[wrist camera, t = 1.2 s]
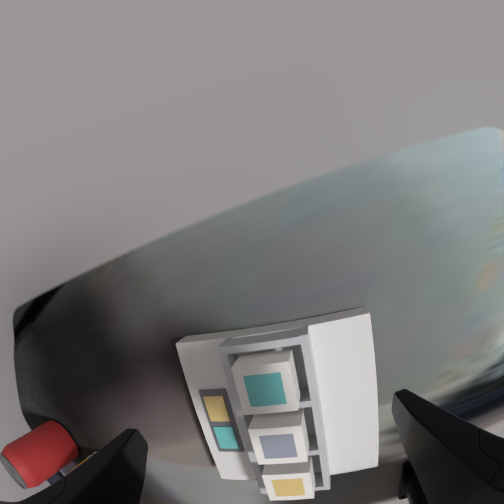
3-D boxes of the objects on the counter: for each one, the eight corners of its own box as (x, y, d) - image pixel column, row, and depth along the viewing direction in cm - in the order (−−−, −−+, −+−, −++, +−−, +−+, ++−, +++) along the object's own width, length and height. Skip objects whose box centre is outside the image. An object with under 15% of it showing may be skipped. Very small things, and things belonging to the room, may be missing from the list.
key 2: (315, 481, 17) (314, 498, 15) (274, 484, 17) (269, 500, 15) (311, 455, 17) (309, 472, 15) (266, 458, 17) (261, 475, 15)
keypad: (375, 452, 19) (380, 480, 15) (227, 466, 22) (215, 491, 18) (364, 306, 19) (375, 320, 15) (186, 335, 22) (163, 351, 18)
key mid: (309, 444, 17) (307, 461, 15) (263, 448, 17) (258, 464, 16) (302, 409, 17) (301, 425, 15) (254, 413, 18) (247, 429, 16)
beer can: (77, 434, 26) (19, 474, 15) (83, 462, 27) (34, 500, 15) (46, 410, 28) (-10, 441, 16) (53, 440, 28) (4, 471, 17)
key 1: (300, 394, 17) (298, 410, 15) (250, 399, 18) (243, 415, 16) (291, 348, 17) (288, 361, 15) (239, 355, 18) (230, 368, 16)
